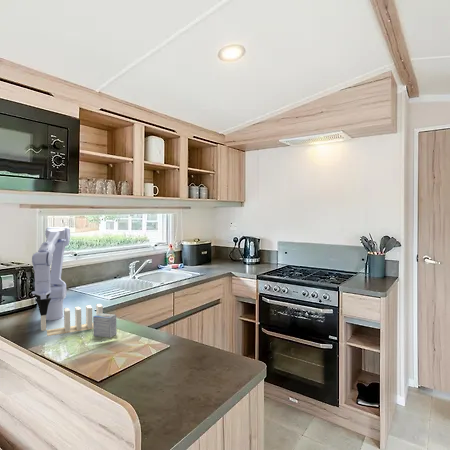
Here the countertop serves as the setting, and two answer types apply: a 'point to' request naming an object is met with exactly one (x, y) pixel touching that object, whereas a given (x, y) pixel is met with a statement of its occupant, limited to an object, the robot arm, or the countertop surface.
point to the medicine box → (104, 325)
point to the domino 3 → (78, 318)
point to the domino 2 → (66, 319)
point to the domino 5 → (99, 309)
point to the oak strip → (62, 330)
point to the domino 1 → (43, 322)
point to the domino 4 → (89, 316)
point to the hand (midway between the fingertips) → (43, 312)
